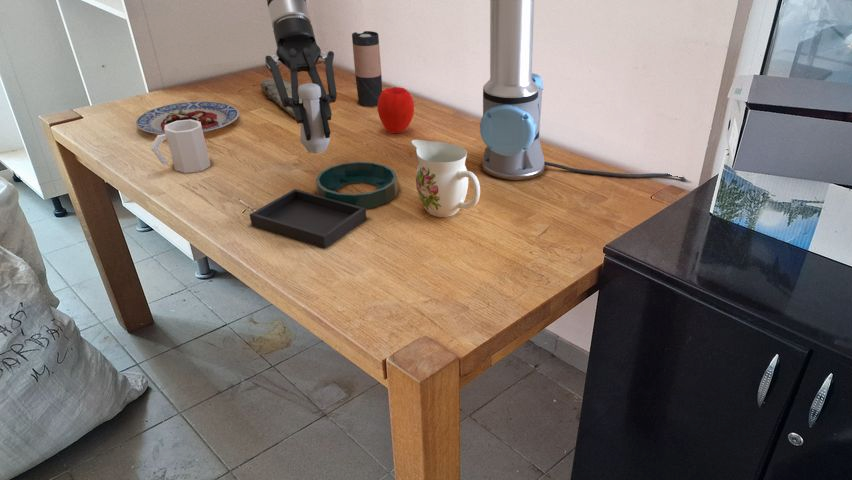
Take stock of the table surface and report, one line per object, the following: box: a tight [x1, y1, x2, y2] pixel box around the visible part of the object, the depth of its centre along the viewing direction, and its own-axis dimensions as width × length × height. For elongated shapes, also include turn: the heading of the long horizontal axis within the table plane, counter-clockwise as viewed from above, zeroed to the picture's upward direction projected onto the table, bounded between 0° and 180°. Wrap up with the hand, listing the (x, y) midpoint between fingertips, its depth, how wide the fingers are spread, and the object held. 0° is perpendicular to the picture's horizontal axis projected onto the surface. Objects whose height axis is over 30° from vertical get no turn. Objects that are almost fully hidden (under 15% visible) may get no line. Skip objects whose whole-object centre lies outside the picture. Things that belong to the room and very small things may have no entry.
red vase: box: [376, 86, 415, 134], centre depth 175 cm, size 10×10×12 cm
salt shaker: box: [298, 82, 331, 154], centre depth 127 cm, size 6×6×13 cm
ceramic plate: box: [135, 100, 240, 135], centre depth 177 cm, size 26×26×3 cm
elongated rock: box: [260, 77, 302, 119], centre depth 193 cm, size 35×5×10 cm
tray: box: [249, 188, 368, 249], centre depth 134 cm, size 19×14×3 cm
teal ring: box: [315, 161, 399, 210], centre depth 146 cm, size 18×18×4 cm
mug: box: [150, 120, 211, 174], centre depth 152 cm, size 12×9×10 cm
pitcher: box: [411, 138, 481, 218], centre depth 137 cm, size 11×18×14 cm, turn 53°
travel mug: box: [351, 30, 383, 108], centre depth 192 cm, size 8×8×20 cm
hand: (318, 136), depth 126 cm, fingers closed on salt shaker, 3 cm apart
